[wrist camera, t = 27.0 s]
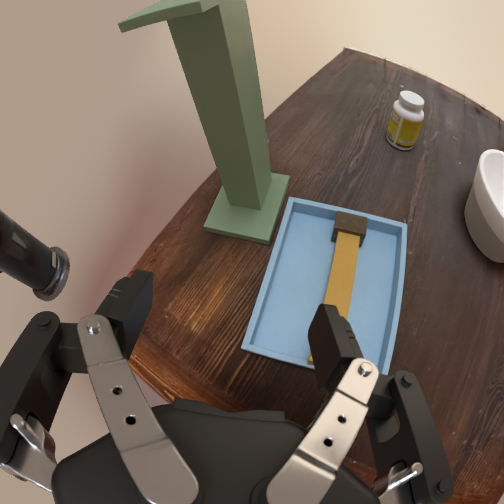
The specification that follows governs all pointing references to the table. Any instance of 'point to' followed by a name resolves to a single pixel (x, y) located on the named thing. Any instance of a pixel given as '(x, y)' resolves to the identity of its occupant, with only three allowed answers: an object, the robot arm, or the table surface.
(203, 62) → the stand
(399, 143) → the pill bottle
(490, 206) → the bowl
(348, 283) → the brass bolt
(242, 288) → the table surface
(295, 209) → the tray
